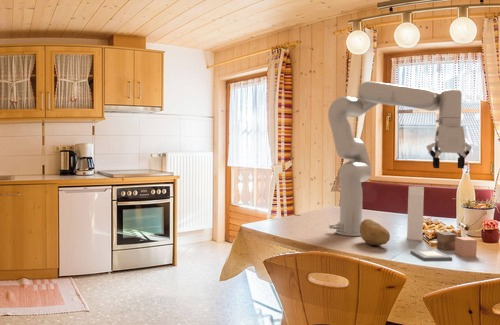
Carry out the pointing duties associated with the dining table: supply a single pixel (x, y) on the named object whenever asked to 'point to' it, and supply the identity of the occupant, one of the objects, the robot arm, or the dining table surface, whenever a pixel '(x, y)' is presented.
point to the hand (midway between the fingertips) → (448, 168)
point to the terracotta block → (465, 246)
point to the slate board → (430, 255)
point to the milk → (415, 213)
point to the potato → (373, 233)
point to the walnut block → (446, 241)
